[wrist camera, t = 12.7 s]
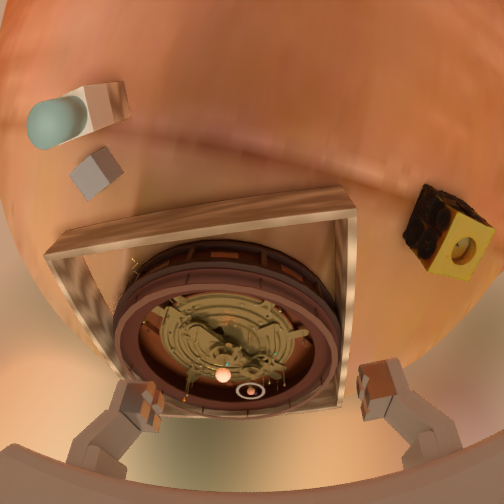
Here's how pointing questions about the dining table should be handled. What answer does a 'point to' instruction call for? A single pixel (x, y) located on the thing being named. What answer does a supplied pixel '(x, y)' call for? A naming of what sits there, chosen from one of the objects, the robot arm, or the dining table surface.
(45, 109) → the sage green cylinder
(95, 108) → the cream white cube
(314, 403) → the orrery frame
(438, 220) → the yellow dark brown cube
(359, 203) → the dining table surface
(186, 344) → the planetary model
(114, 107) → the tower base
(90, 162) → the slate block
